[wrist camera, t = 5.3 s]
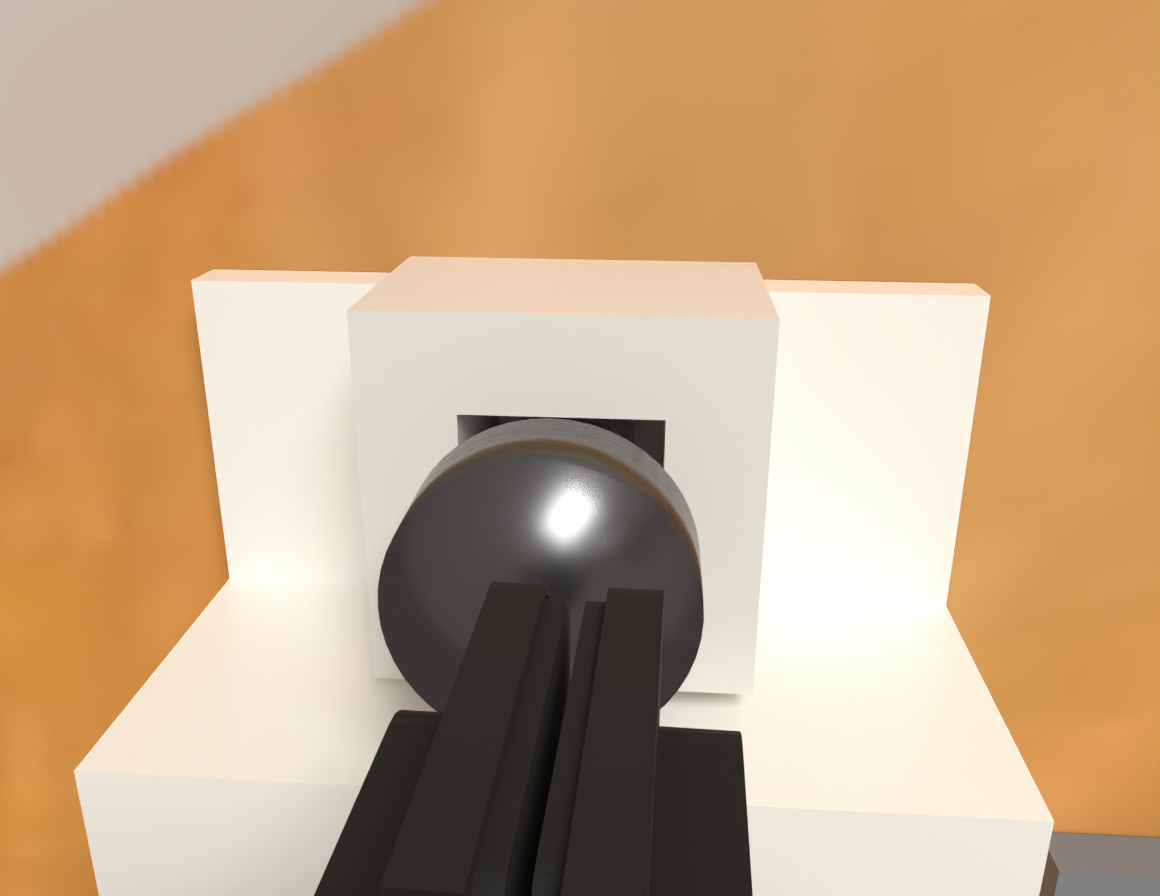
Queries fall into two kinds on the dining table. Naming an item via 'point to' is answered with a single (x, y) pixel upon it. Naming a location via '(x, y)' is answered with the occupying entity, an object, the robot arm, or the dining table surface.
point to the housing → (726, 539)
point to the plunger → (538, 542)
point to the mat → (1101, 866)
